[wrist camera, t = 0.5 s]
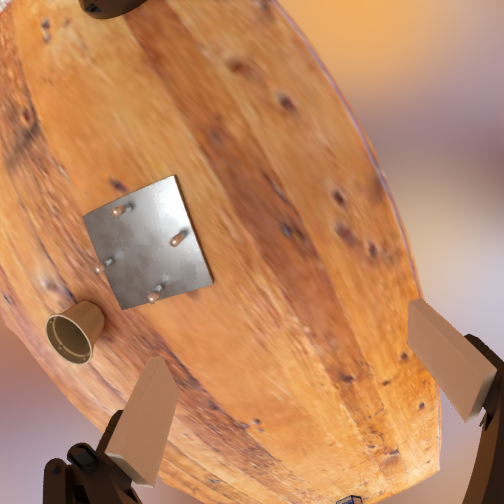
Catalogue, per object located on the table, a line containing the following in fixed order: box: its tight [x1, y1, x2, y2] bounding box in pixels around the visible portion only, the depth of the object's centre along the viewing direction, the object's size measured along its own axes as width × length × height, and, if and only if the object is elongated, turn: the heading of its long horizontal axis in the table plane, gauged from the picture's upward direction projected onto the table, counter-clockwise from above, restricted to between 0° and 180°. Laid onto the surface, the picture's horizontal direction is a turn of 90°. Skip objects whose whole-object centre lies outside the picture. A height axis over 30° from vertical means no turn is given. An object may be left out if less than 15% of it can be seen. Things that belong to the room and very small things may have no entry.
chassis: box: [82, 175, 214, 310], centre depth 37 cm, size 16×16×5 cm
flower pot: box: [45, 301, 105, 366], centre depth 39 cm, size 9×9×9 cm
